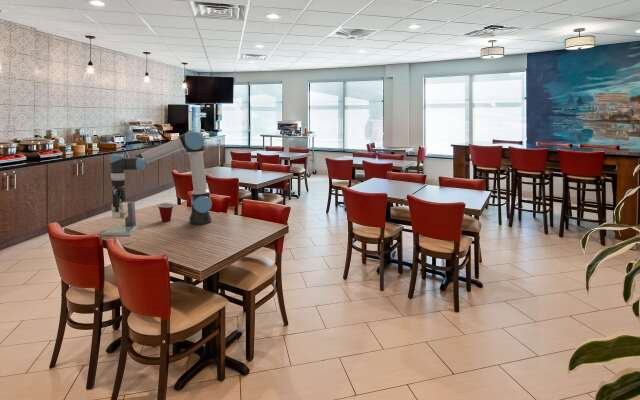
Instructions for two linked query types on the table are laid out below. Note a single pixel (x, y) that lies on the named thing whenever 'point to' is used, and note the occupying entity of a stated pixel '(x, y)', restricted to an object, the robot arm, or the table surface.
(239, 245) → the table surface
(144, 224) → the table surface
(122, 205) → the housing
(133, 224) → the press
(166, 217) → the plastic cup
